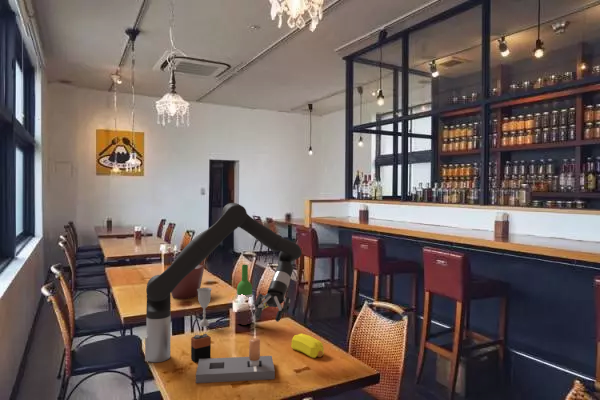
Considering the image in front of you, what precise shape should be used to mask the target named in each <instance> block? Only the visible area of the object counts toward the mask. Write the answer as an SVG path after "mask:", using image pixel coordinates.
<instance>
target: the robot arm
mask: <svg viewBox="0 0 600 400" xmlns="http://www.w3.org/2000/svg"><path fill="white" fill-rule="evenodd" d="M221 215H222V216H220V218H219V219H218V220H217V221H216V222H215V223H214V224H213V225H211V226H210V227H208V228H207V229H205V230H204V231H202V232H201V233H199V234H198V235H196V236H195V237H194V238H193V239H192V240H191V241H190V242H189V243H187V244H186V245H185V247H184V248H183V249H182V250H181V251H180V252H179V253H178V254H177V256H176V258H175V259H174V260H173V262H171V265H169V266H170V267H169V268H168V269H167V268H166V269H165V270H164V271H163V272H162V273H161V274H155V275H152V277H150V278H149V280H148V281H147V283H146V310H145V311H146V334H145V335H146V336H145V337H144V350H145V351H144V362H149V363H161V362H166V361H168V360H169V359H170V358H171V317H172V316H171V314H172V313H171V297H172V294H171V292H172V291H173V290H174V288H175V287H176V286H177V285H178V284H179V283H180V281H181V280H182V279H183V278H184V277H185V276H187V275H188V274H189V273H190V272H191V271H193V270H194V269H195V268H196V267H197V266H198V265H201V264H202V263H203V261H205V260H206V259H207V258H208V257H209V256H210V255H211V254H212V253H213V252H214V251H215V249H216V248H218V246H220V244H222V242H223V241H224V240H225V239H226V238H227V237H228V236H229V235H230V234H231V233H233V232H234V231H235V230H236V229H238V228H239V229H241V230H243V231H244V232H247V233H248V234H249V235H250V236H251V237H253V238H254V239H255V240H257V241H258V242H260V243H261V244H262V245H264V246H265V247H266V248H268V249H269V250H271V251H273V252H279V253H278V260H277V266H276V269H275V272H274V274H273V275H272V278H271V281H270V284H269V286H268V289H267V293H266V294H265V295H264V294H262V293H259V294H258V296H257V299H256V300H255V302H254V307H255V309H256V312H255V317H256V319H257V320H260V318H261V315H262V313H263V310H264V309H267V308H268V307H270V308H272V307H273V308H278V311H277V313H276V315H275V321H276V323H277V322H279V321H281V320H282V316H283V314H288V312H289V309H290V305H291V302H292V301H291V299H290V297H289V296H287V297H285V296H286V294H287V291H288V288H289V286H290V283H291V282H290V281H291V278H292V274H293V271H294V266H293V264H292V263H293V262H294V261H296V260H298V259H299V258H301V256H302V253H303V251H302V248H301V247H300V246H299V244H297V243H296V242H294V241H291V240H289V239H287V238H285V237H281V236H280V235H279V234H277V233H276V232H274V231H273V230H271V229H270V228H268V227H266V226H265V225H263V224H261V223H260V222H258V221H257V220H255V219H254V218H253V217H252V216H250V215H249V214H248V212H247V209H246V208H245V207H244V206H243V205H241V204H239V203H236V202H231V203H227V204H226V205H224V207H223V208H222V211H221ZM282 303H284V305H283V307H282V305H281V304H282Z"/></svg>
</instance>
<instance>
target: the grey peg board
mask: <svg viewBox="0 0 600 400" xmlns="http://www.w3.org/2000/svg"><path fill="white" fill-rule="evenodd" d="M275 372H276V371H275V366H274V361H273V356H272V355H260V359H259V367H256V366H254V367H250V359H249V356H236V357H235V356H234V357H215V358H214V357H213V358H212V357H211V358H208V359H199V362H197V367H196V373H195V383H196V384H205V383H222V382H223V383H224V382H242V381H246V382H247V381H262V380H275V379H276V377H275V376H276V375H275Z"/></svg>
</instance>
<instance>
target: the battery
mask: <svg viewBox="0 0 600 400" xmlns="http://www.w3.org/2000/svg"><path fill="white" fill-rule="evenodd" d="M190 340H191V343H190V352H191V353H190V359H191V361H193V362H194V363H199V359H208V358H212V357H211V351H212V350H211V349H212V348H211V345H212V344H211V342H212V340H211V336H210V335H208V333H203V334H201V335H200V334H195V335H194V336H192V337H191V339H190Z"/></svg>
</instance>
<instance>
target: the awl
mask: <svg viewBox="0 0 600 400" xmlns="http://www.w3.org/2000/svg"><path fill="white" fill-rule="evenodd" d="M248 344H249V346H248V349H249V351H248V357H249V359H250V367H254V366H256V367H259V359H260V356H261V339H260V338H257V337H255V338H250V339H249V340H248Z"/></svg>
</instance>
